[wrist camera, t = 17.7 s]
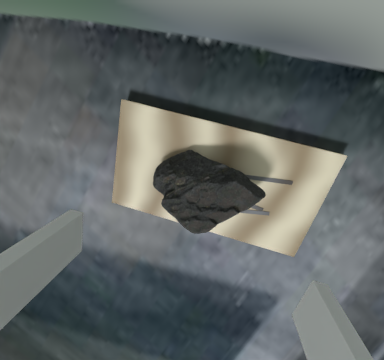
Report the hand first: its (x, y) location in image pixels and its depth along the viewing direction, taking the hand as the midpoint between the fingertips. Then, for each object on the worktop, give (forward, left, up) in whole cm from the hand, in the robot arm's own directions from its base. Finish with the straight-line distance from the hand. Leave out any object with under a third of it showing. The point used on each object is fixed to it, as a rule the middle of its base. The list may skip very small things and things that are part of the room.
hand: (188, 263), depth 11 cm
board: (0, 0, -16) cm, 16 cm away
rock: (0, 0, -14) cm, 14 cm away
